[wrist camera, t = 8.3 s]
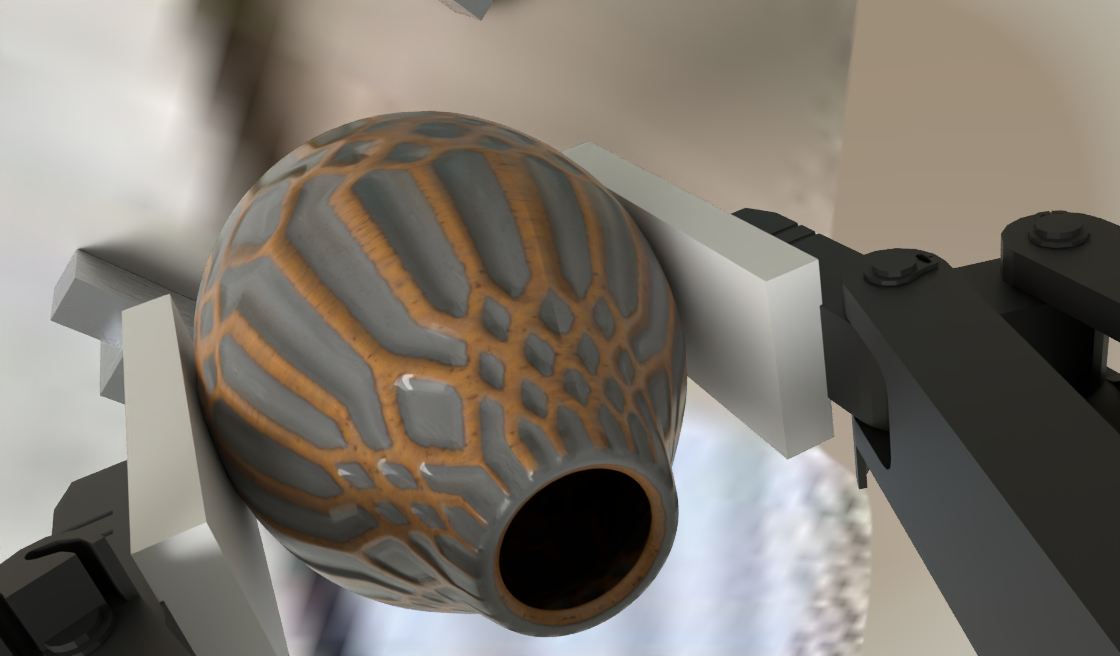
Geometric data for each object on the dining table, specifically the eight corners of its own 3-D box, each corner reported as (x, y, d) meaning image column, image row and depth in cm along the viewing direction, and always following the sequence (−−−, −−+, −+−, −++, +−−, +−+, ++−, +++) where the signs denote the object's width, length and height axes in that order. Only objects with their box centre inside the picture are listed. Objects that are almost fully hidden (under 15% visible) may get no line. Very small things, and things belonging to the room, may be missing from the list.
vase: (180, 454, 17) (236, 873, 10) (174, 61, 15) (242, 230, 7) (533, 423, 20) (779, 730, 13) (578, 91, 17) (917, 235, 10)
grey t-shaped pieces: (40, 314, 28) (31, 370, 25) (325, -187, 26) (356, -200, 23) (227, 388, 31) (242, 446, 28) (494, -53, 29) (543, -47, 26)
